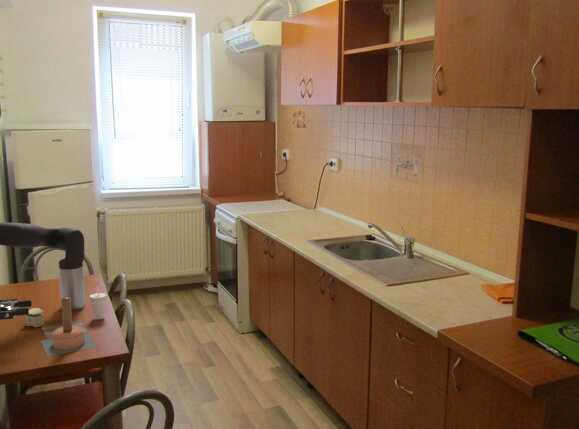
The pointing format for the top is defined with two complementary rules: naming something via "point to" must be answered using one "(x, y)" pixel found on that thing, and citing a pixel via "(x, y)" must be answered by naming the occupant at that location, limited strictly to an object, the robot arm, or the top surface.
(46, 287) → the top surface
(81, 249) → the robot arm
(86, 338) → the slate mat
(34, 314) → the beige piece
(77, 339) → the peg on base plate
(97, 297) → the smoothie
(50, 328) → the clear flat panel
